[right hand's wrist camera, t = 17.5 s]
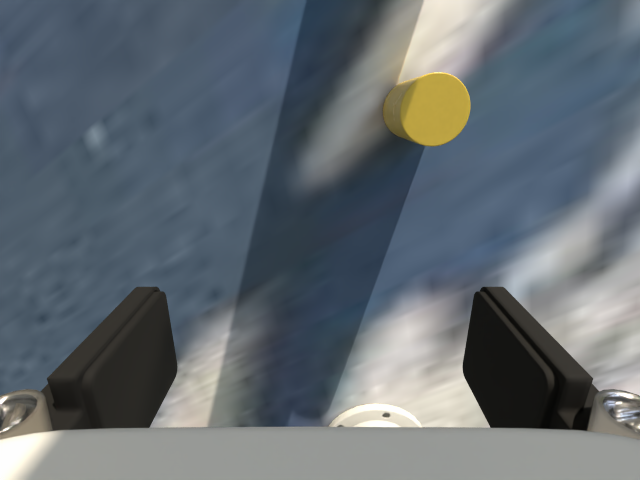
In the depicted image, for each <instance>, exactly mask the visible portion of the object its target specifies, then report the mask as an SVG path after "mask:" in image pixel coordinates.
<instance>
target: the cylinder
mask: <svg viewBox="0 0 640 480" xmlns="http://www.w3.org/2000/svg"><path fill="white" fill-rule="evenodd" d="M469 113H470V98H469V94H468V91H467V89H466V88H465V86H464V85H463V83H462V82H461V81H460V80H459V79H457V78H456V77H454V76H453V75H450V74H448V73H443V72H435V73H429V74H426V75H423V76H420V77H417V78H414V79H411V80H408V81H405V82H402V83H400V84H398V85H397V86H395V87H394V88H393V89H392V90H391V91H390V92H389V94H388V95H387V97H386V99H385V102H384V105H383V118H384V122H385V124H386V126H387V127H388V129H389V130H390V131H391V132H392V133H393V134H395V135H397V136H399V137H401V138H404V139H407V140H410V141H412V142H415V143H418V144H421V145H424V146H439V145H443V144H445V143H447V142H449V141H451V140H452V139H454V138H455V137H456V136H457V135H458V134H459V133H460V132H461V131H462V129H463V128H464V126H465V125H466V123H467V120H468V117H469Z"/></svg>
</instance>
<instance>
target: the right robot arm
mask: <svg viewBox="0 0 640 480" xmlns="http://www.w3.org/2000/svg"><path fill="white" fill-rule="evenodd" d="M176 373H177V360H176V354H175V348H174V342H173V336H172V330H171V323H170V317H169V311H168V305H167V299H166V294H165V293H164V292H160V290H159V288H158V287H136V288H135V289H134V290H133V291H132V292H131V293H130V294H129V295H128V296H127V297H126V298H125V299H124V300H123V301H122V302H121V303H120V304H119V305H118V306H117V307H116V308H115V309H114V310H113V311H112V312H111V314H110V315H109V316H108V317H107V318H106V319H105V320H104V321H103V322H102V323H101V324H100V325H99V326H98V327H97V328H96V329H95V330H94V331H93V332H92V333H91V334H90V335H89V336H88V337H87V338H86V339H85V340H84V341H83V342H82V343H81V344H80V345H79V346H78V347H77V348H76V349H75V350H74V351H73V352H72V353H71V354H70V355H69V356H68V358H67V359H66V360H65V361H64V362H63V363H62V364H61V365H60V366H59V367H58V368H57V369H56V370H55V371H54V372H53V373H52V374H51V375H50V376H49V377H48V378H47V380H48V384H47V385H46V387H45V388H44V389H43V390H42V391H41V392H40V391H38V390H31V389H25V390H18V391H14V392H10V393H7V394H4V395H1V396H0V480H640V396H639V395H636V394H633V393H630V392H626V391H622V390H615V389H609V390H602V391H600V392H599V391H598V390H597V389H596V388H595V387H594V385H593V384H592V380H593V378H592V377H591V376H590V375H589V374H588V373H587V372H586V371H585V370H584V369H583V368H582V367H581V366H580V365H579V364H578V363H577V362H576V361H575V360H574V359H573V358H572V356H571V355H570V354H569V353H568V352H567V351H566V350H565V349H564V348H563V347H562V346H561V345H560V344H559V343H558V342H557V341H556V340H555V339H554V338H553V337H552V336H551V335H550V334H549V333H548V332H547V331H546V330H545V329H544V328H543V327H542V326H541V325H540V324H539V323H538V322H537V321H536V320H535V319H534V318H533V317H532V316H531V315H530V314H529V312H528V311H527V310H526V309H525V308H524V307H523V306H522V305H521V304H520V303H519V302H518V301H517V300H516V299H515V298H514V297H513V296H512V295H511V294H510V293H509V292H508V291H507V290H506V289H505V288H504V287H482V288H481V290H480V292H476V293H475V294H474V299H473V305H472V311H471V317H470V323H469V330H468V336H467V342H466V348H465V354H464V360H463V373H464V377H465V379H466V381H467V383H468V385H469V387H470V389H471V390H472V392H473V394H474V396H475V398H476V400H477V402H478V404H479V406H480V408H481V410H482V412H483V414H484V415H485V417H486V419H487V421H488V423H489V425H490V427H491V428H450V427H422V425H421V424H420V422H419V421H418V420H417V419H416V418H415V417H414V416H413V415H411V414H410V413H409V412H407V411H405V410H403V409H401V408H399V407H395V406H392V405H386V404H367V405H361V406H357V407H355V408H352V409H349V410H347V411H345V412H344V413H342V414H340V415H339V416H338V417H337V418H335V419H334V420H333V421H332V422H331V424H330V425H329V426H328V427H191V428H149V427H150V425H151V423H152V421H153V419H154V417H155V415H156V414H157V412H158V410H159V408H160V406H161V404H162V402H163V400H164V398H165V396H166V394H167V392H168V390H169V389H170V387H171V385H172V383H173V381H174V379H175V377H176Z"/></svg>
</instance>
